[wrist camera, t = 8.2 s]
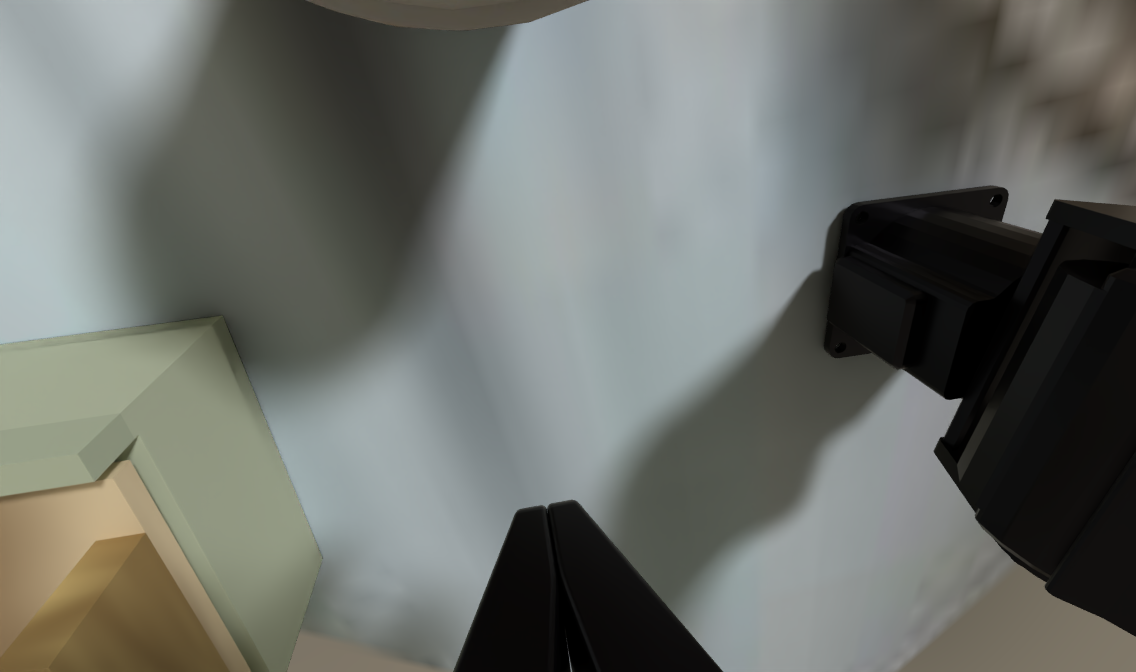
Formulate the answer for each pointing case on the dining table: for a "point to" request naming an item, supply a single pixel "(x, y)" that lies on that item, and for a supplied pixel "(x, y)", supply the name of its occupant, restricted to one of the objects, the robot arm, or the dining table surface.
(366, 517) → the dining table surface
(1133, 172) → the dining table surface
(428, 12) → the disposable coffee cup
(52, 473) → the box
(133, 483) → the lid
